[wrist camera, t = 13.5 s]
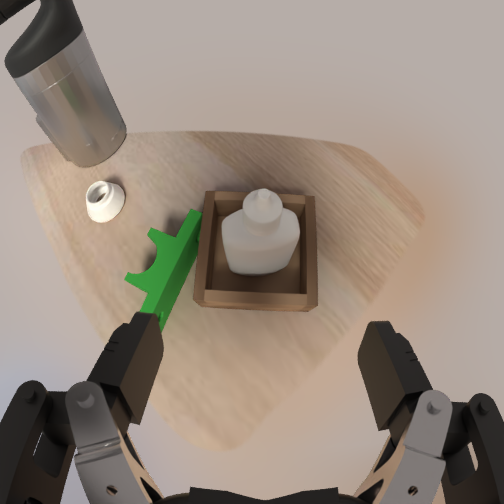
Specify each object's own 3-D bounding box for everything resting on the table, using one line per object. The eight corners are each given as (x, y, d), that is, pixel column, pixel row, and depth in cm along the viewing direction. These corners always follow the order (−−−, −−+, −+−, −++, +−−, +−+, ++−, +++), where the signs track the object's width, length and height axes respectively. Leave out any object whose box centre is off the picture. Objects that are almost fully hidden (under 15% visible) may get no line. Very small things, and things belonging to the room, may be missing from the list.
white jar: (103, 232, 28) (133, 201, 30) (91, 221, 26) (124, 188, 27) (84, 208, 29) (112, 179, 31) (72, 196, 27) (102, 166, 28)
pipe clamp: (177, 220, 29) (166, 199, 25) (208, 233, 28) (202, 212, 24) (129, 317, 25) (109, 310, 21) (161, 334, 25) (144, 330, 21)
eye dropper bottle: (239, 229, 28) (233, 151, 16) (293, 249, 27) (322, 181, 16) (221, 268, 26) (200, 209, 15) (277, 291, 26) (299, 246, 14)
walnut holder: (201, 306, 26) (193, 299, 22) (211, 210, 29) (205, 190, 25) (307, 311, 26) (317, 305, 22) (306, 215, 29) (314, 196, 25)
